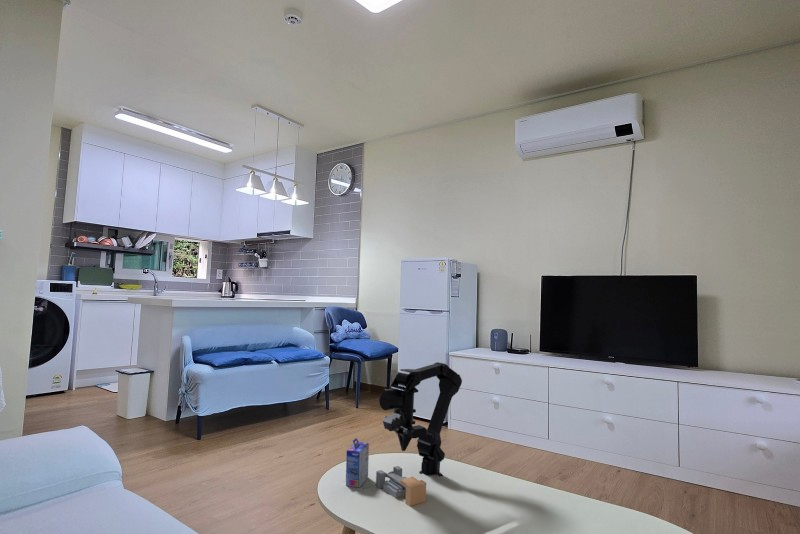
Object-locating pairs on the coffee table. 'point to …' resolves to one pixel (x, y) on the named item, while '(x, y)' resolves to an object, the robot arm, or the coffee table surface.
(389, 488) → the board
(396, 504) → the coffee table surface
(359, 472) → the ink cartridge box
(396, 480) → the strap
